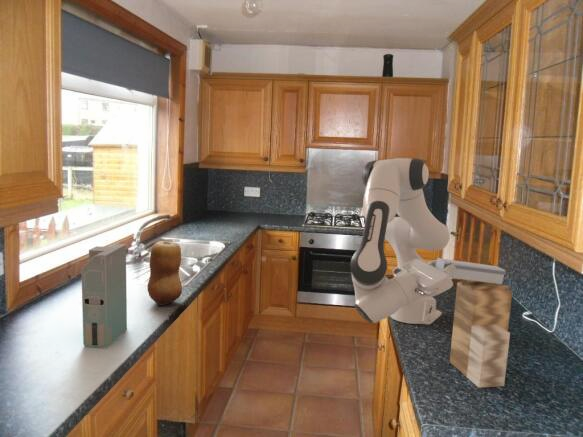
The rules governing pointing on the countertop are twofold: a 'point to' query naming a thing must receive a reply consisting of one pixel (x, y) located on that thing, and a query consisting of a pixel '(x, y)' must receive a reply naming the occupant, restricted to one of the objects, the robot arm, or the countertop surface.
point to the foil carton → (473, 271)
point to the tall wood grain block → (481, 332)
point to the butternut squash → (165, 272)
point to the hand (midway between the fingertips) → (448, 262)
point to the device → (104, 296)
